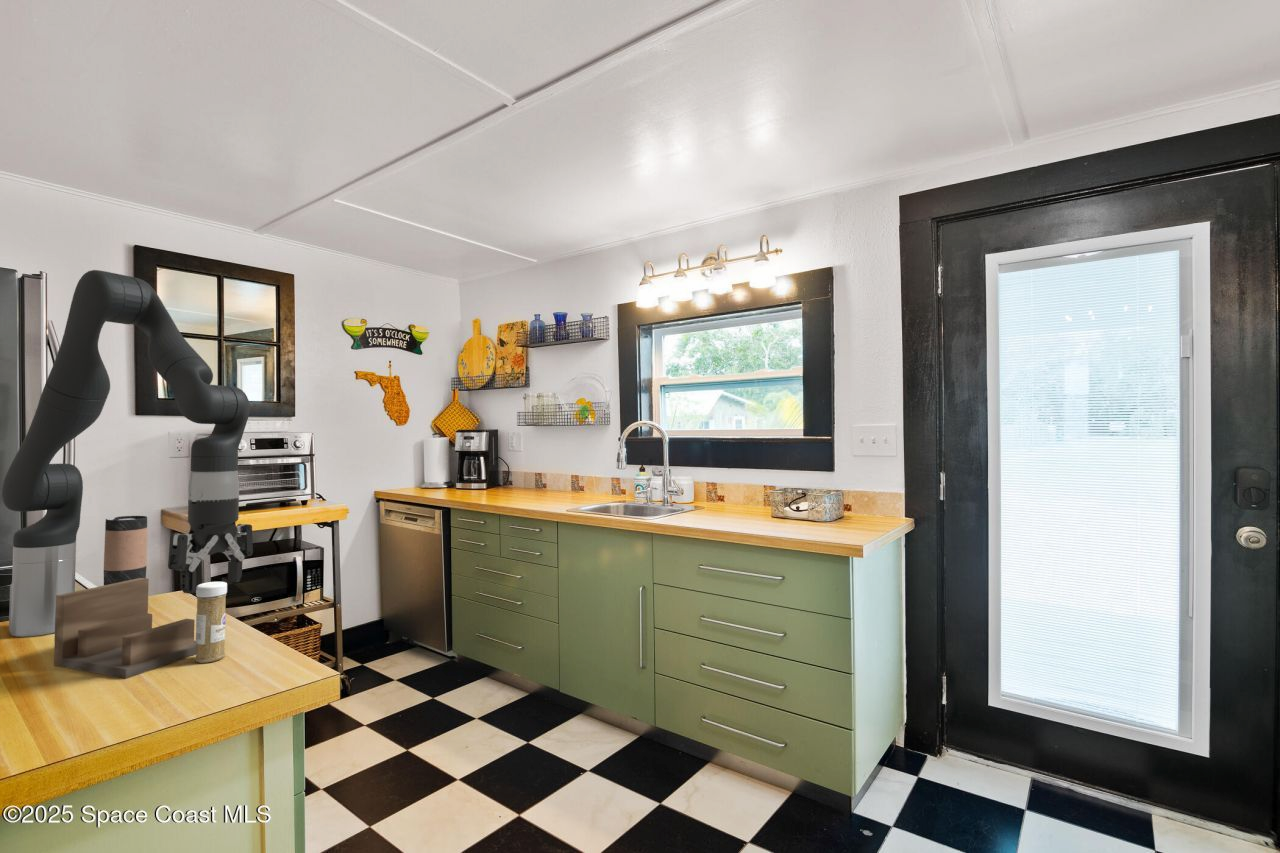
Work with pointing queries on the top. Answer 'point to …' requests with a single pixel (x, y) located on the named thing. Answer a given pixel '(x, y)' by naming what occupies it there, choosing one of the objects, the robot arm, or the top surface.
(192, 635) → the wooden tiered slot stand
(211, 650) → the sprinkles bottle
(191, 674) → the top surface
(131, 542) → the travel mug
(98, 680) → the top surface
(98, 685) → the top surface
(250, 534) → the robot arm
